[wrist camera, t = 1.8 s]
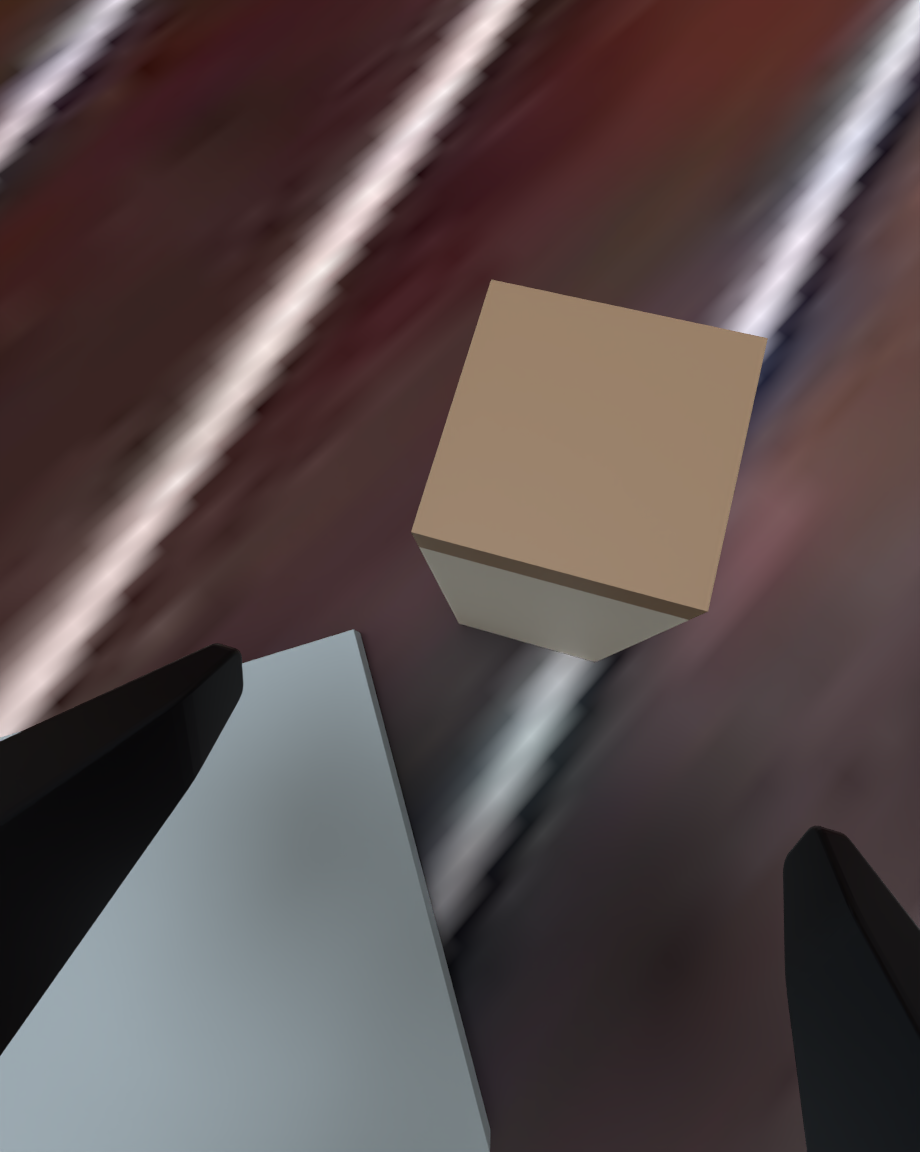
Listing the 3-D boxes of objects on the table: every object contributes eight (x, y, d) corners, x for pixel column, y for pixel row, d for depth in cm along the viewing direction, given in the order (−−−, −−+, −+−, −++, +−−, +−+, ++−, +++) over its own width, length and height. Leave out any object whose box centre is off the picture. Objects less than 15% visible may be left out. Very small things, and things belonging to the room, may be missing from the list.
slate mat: (490, 1129, 19) (489, 1153, 18) (-7, 1280, 19) (-35, 1311, 18) (359, 632, 22) (353, 629, 21) (-60, 761, 22) (-85, 764, 21)
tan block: (595, 662, 21) (707, 611, 10) (458, 623, 22) (411, 531, 10) (627, 530, 22) (767, 338, 11) (496, 496, 23) (490, 279, 11)
